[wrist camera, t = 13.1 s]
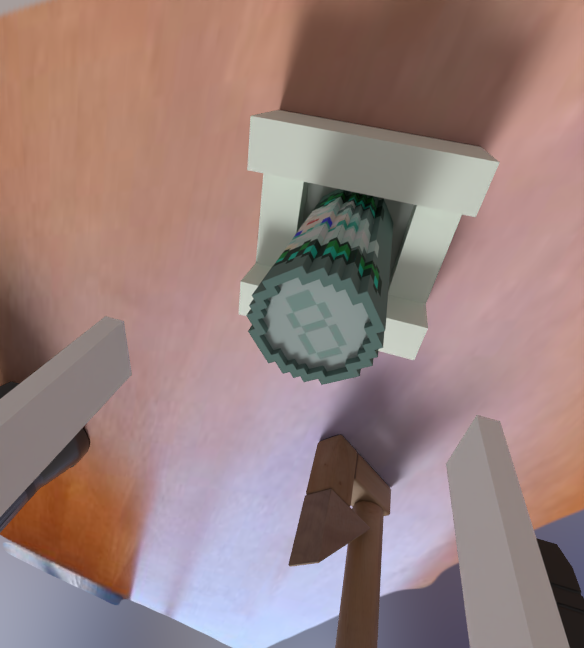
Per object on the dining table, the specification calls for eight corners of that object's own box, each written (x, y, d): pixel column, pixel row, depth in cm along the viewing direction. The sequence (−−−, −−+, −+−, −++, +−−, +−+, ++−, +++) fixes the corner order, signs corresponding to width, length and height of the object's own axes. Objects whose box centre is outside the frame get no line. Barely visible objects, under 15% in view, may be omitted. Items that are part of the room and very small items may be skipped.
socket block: (262, 281, 34) (238, 314, 29) (279, 109, 26) (250, 115, 21) (412, 318, 32) (414, 360, 27) (480, 146, 24) (499, 162, 19)
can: (373, 171, 26) (347, 247, 14) (402, 246, 29) (401, 366, 16) (300, 207, 29) (225, 296, 17) (332, 272, 31) (287, 392, 19)
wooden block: (341, 432, 42) (308, 614, 28) (392, 487, 46) (386, 678, 31) (316, 441, 44) (274, 616, 30) (367, 493, 47) (350, 675, 33)
